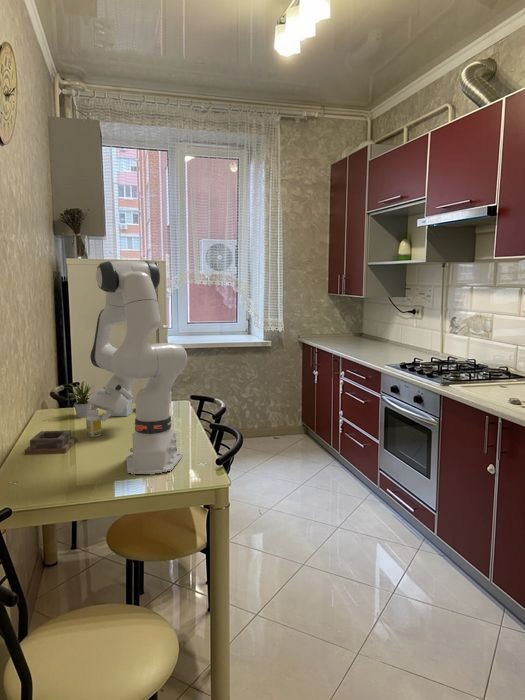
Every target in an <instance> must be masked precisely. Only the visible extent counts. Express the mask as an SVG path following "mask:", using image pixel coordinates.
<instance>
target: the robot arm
mask: <svg viewBox="0 0 525 700" xmlns="http://www.w3.org/2000/svg"><path fill="white" fill-rule="evenodd" d="M95 279H96V283H97V286H98V288H99V289H100V290H101V291H103V292H105V304H104V305H105V306H104V308H102V310H101V311H100V312H99V314H98V317H97V321H96V328H95V333H94V340H93V345H92V347H91V348H92V349H91V351H90V355H89V356H90V357H89V358H90V361H91V364H92V365H93V367H96V368H98V369H102V370H105V371H107V372H110V373H112V374H114V375H113V376H111V378H110V379H109V380H108V382H107V383H106V385H105V386H103V387H101V388H98V389H97V390H96V391H95V392H93V393H92V394H91V397H89V399H88V401H89V402H88V403H89V404H90V410H98V409H100V410H103V411H106V412H105V413H103V414H101V416H100V419H101V422H106V420H108V418H110V417H112V414H113V413H115V414H120V413H121V412H122V411H123V410H124V408H125V407H126V406H127V404H128V402H129V400H131V399H132V400H133V398H134V396H133V394H132V393H131V394H130V393H129V390H130V389H131V390H132V386H133V385H134V384H135V383H136V382H137V381H138V380H139V379H140V380H141V379H146V378H147V379H148V378H149V379H148V383H147V384H146V385H145V386H144V387H143V388H141V389H140V390H139V391H138V392H137V394H136V395H135V399H134V401H135V419H134V432H132V433H131V443H132V445H131V446H132V447H131V448H130V449H129V452H130V453H129V454H127V455H126V457H125V458H126V473H127V474H128V473H131V474H130V475H135V474H150V475H156V474H155V473H161V474H163V473H162V472H167V471H170V470H172V469H173V468H174V469H175V467H176V466H177V465H178V463H179V462H180V461H181V460H182V458H183V457H182V456H184V455H183V452H180V451H178V442H177V441H178V439H177V433H176V432H175V430H173V429H172V422H173V421H172V417H171V415H170V414H171V413H170V404H169V402H170V392H171V393H172V387H173V385H174V383H175V381H176V379H177V377H178V376H179V375H180V374H181V373H182V371H184V370H185V368H186V366H187V364H188V354H187V351H186V349H185V348H184V346H183V345H182V344H180V343H173V342H161V343H160V342H159V343H150V342H149V341H150V340H149V339H150V338H149V337H150V335H152V334H153V333H155V332H156V331H157V330H158V329H159V328H160V326H161V322H162V319H161V313H160V307H159V302H158V298H157V293H156V289H157V288H158V287H159V285H160V281H161V274H160V269H159V267H158V266H157V263H155V262H152V261H148V260H147V261H137V260H126V259H125V260H116V261H115V260H114V261H109V260H108V261H103V262H101V263H99V265H98V266H97V268H96V272H95ZM123 324H126V333H125V336H124V339H123V342H122V343H121V345H120V346H119V347H118V348H117V347H114V346H113V345H112V344H111V343H110V339H111V333H112V327H113V326H116V325H123ZM179 460H180V461H179ZM178 461H179V462H178ZM176 464H177V465H176ZM175 465H176V466H175ZM174 466H175V467H174ZM172 471H173V470H172ZM170 472H171V471H170ZM167 473H168V472H167Z"/></svg>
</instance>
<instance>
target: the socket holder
mask: <svg viewBox="0 0 525 700" xmlns="http://www.w3.org/2000/svg"><path fill="white" fill-rule="evenodd" d="M77 438H78V437H77V436H72V430H64V429H63V430H46V431H45V430H44V431H43V430H41V431H39V432H38V433H37V434H36V435H35V436H33V437H32V438H31V439H30V440H29V446H28V447H26V448H25V449H24V455H39V454H40V455H41V454H42V453H48V454H65V453H64V452H66V453H68V451H69V450H70V449H71V448H72V447H71V446H73V445H75V443H76V442H77V441H78V439H77ZM42 455H43V454H42Z"/></svg>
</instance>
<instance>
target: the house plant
mask: <svg viewBox="0 0 525 700" xmlns="http://www.w3.org/2000/svg"><path fill="white" fill-rule="evenodd" d="M85 383H86V384H85ZM84 385H85V387H84ZM69 386H71V387H72V388H69V390H70V391H72V392H73V393H72V392H69V397H70V398H69V401H70V400H71V401H73V400H76V401H75V402H73V406H74V411H75V414H76V418H78V417H84V418H87V417H86V416H88V411H90V407H91V404H89V403H88V402H89V399H90V397H89V392H90V391H91V389H93V386H90V385H89V383H88V382H85V381H84V380H82V381H81V384H80V386H79V384H78V383H76V386H74V385H72V384H71V383H69ZM89 386H90V387H89ZM63 388H67V389H68V387H63ZM90 395H93V392H92V393H91V394H90Z"/></svg>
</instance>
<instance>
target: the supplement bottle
mask: <svg viewBox="0 0 525 700" xmlns="http://www.w3.org/2000/svg"><path fill="white" fill-rule="evenodd" d="M100 417H101V416H100V415H99V410H98V409H96V410H90V411H88V417H85V423H86V436H87V438H88V437H90V438H96V437H100V436H101V435H102V420H101V419H100Z"/></svg>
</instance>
